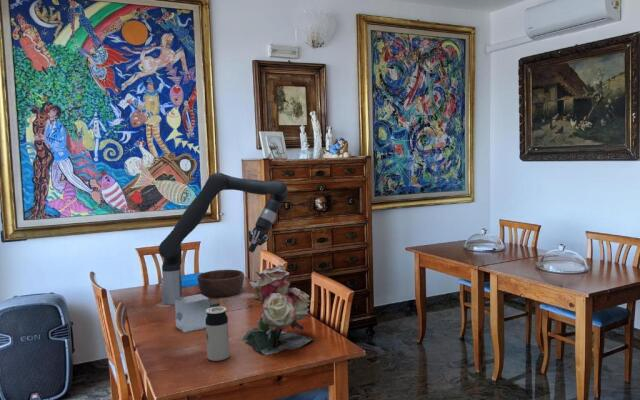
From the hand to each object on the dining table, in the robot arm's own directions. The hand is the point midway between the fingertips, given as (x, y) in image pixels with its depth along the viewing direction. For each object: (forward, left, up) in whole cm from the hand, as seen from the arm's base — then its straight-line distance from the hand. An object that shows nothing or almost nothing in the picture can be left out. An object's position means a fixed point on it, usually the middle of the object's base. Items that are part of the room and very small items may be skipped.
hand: (250, 251), depth 250 cm
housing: (-21, -27, -28) cm, 44 cm away
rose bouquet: (+21, -45, -28) cm, 57 cm away
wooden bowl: (-24, +29, -28) cm, 47 cm away
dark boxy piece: (-19, -26, -27) cm, 42 cm away
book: (-51, +51, -28) cm, 78 cm away
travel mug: (0, -62, -28) cm, 68 cm away
